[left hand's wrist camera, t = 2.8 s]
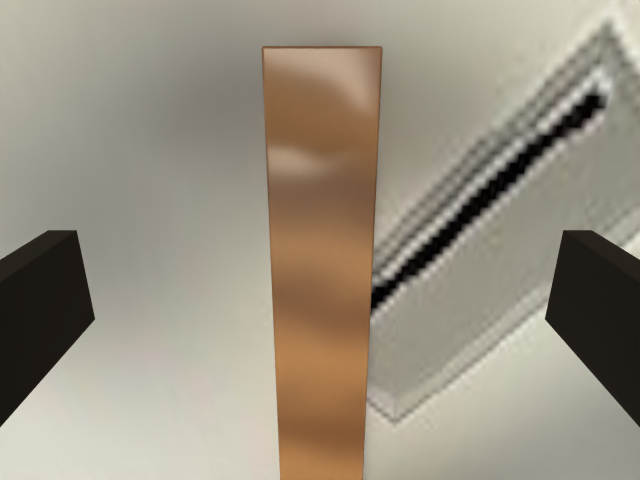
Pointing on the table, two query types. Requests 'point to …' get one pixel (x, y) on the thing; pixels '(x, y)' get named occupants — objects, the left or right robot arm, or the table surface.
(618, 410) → the table surface
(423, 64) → the table surface
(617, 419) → the table surface
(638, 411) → the left robot arm
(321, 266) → the post
